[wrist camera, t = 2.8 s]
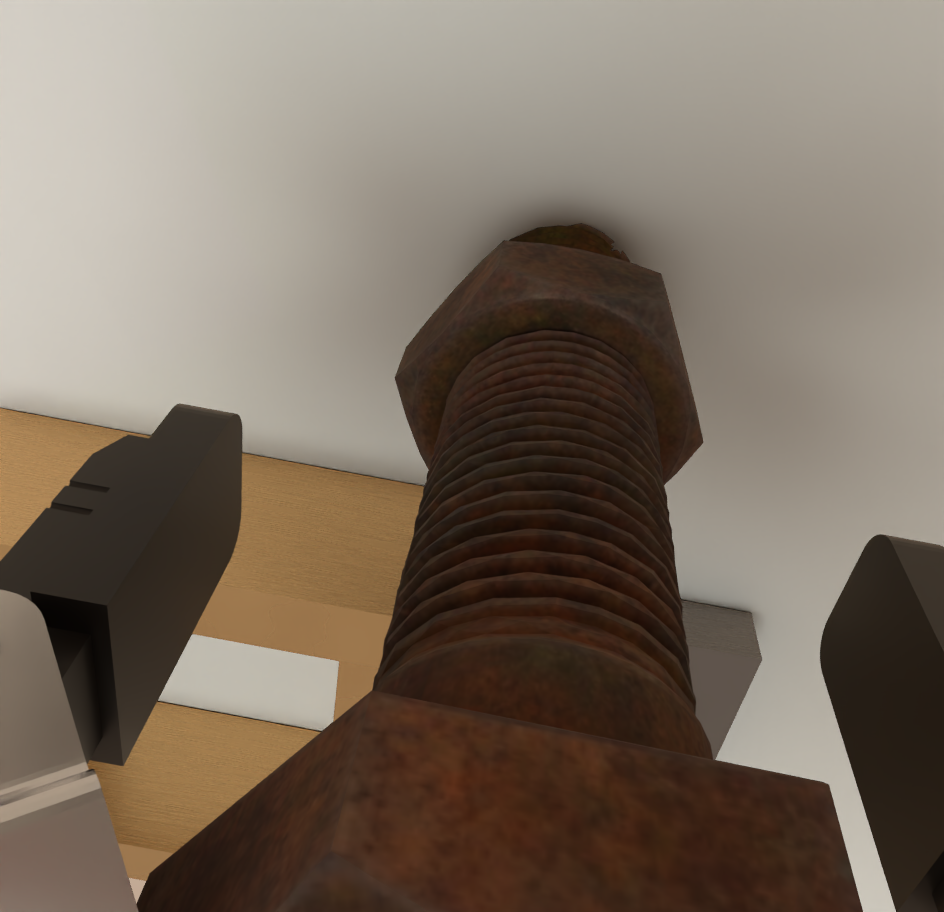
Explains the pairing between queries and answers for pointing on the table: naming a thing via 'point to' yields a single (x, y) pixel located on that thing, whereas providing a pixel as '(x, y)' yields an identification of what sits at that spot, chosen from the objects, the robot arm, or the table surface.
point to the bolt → (530, 649)
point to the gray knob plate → (719, 664)
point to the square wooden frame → (236, 618)
